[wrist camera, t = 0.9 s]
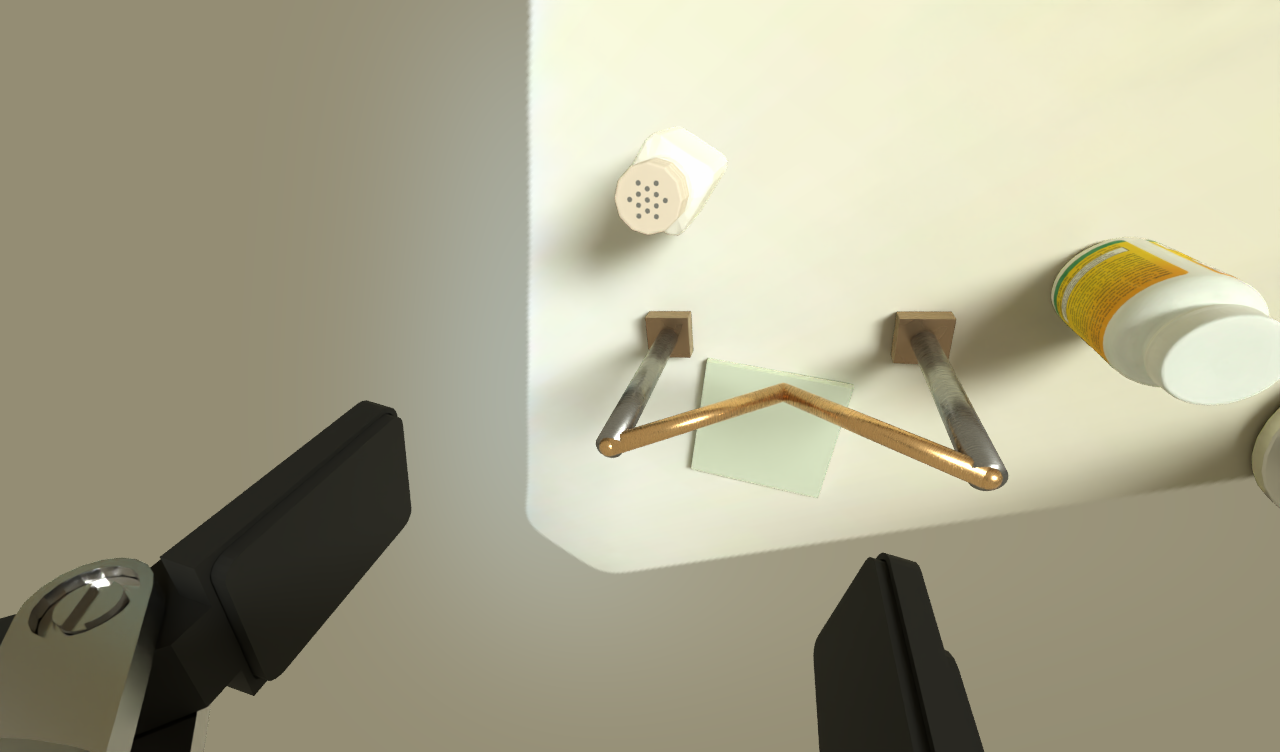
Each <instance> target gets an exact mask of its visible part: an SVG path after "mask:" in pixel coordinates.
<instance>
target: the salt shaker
mask: <svg viewBox="0 0 1280 752" xmlns="http://www.w3.org/2000/svg"><path fill="white" fill-rule="evenodd" d="M727 163H728V160H727V159H726V157H725V156H724V154H722V153H721V152H719V151H718V150H716V149H715V148H713V147H712V146H710V145H709V144H707V143H706V142H704V141H703V140H701V139H700V138H698V137H696V136H695V135H693V134H692V133H690V132H689V131H687V130H686V129H684V128H682V127H672V128H669V129H665V130H662V131H659V132H656V133H653V134H652V135H651V136H649V137H648V138H647V139H646V140H645V142H644V143H643V145H642V147H641V149H640V151H639V153H638V154H637V156H636V158H635V160H634V162H633V164H632V166H630V167H629V168H628V170H627V171H626V172H625V173H624V174H623V175H622V176H621V178H620V179H619V180H618V183H617V188H616V193H615V198H614V199H615V203H616V206H617V210H618V213H619V217H620V218H621V219H622V220H623V221H624V222H625V223H626V224H627V225H628V226H629V227H630V228H631V230H634V231H637V232H640V233H643V234H646V235H651V234H656V233H660V232H665V233H667V234H668V235H677V236H678V235H680V234H681V233H683V232H684V231H685V230H686V229H687V227H688V226H689V225H690V224H691V223H692V221H693V220H694V219H695V218H696V217H697V215H698V214H699V213H700V212H701V210H702V209H703V207H704V205H705V204H706V202H707V200H708V199H709V197H710V195H711V194H712V192H713V191H714V189H715V187H716V186H717V184H718V182H719V181H720V179H721V177H722V176H723V174H724V172H725V171H726V168H727Z"/></svg>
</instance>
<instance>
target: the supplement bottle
mask: <svg viewBox="0 0 1280 752" xmlns="http://www.w3.org/2000/svg"><path fill="white" fill-rule="evenodd" d="M1051 300H1052V304H1053V307H1054V309H1055V311H1056V313H1057V314H1058V316H1059V317H1060V318H1061V319H1062V320H1063V321H1064V322H1065V323H1066V324H1067V325H1068V326H1069V327H1070V328H1071V329H1072V330H1073V331H1074V332H1075V333H1076V334H1077V335H1079V336H1080V337H1081V338H1082V339H1083V340H1084V341H1085V342H1086V343H1087V344H1088V345H1089V346H1091V347H1092V348H1093V349H1094V350H1095V351H1096V352H1097V353H1098V354H1099V355H1100V356H1101V357H1102V358H1103V359H1104V360H1105V361H1106V362H1107V363H1108V364H1109V365H1110V366H1111V367H1112V368H1114V369H1115V370H1116V371H1118V372H1119V373H1120V374H1121V375H1123V376H1125V377H1126V378H1128V379H1130V380H1132V381H1135V382H1137V383H1140V384H1144V385H1148V386H1153V387H1161V388H1162V389H1164V390H1165V391H1166V392H1168V393H1169V394H1170V395H1172V396H1173V397H1175V398H1177V399H1180V400H1182V401H1185V402H1188V403H1192V404H1198V405H1221V404H1228V403H1232V402H1237V401H1240V400H1243V399H1246V398H1249V397H1252V396H1254V395H1256V394H1258V393H1260V392H1262V391H1264V390H1265V389H1267V388H1268V387H1270V386H1272V385H1273V384H1274V383H1275V382H1276V381H1278V380H1279V379H1280V322H1279V321H1277V320H1275V319H1273V318H1271V317H1270V316H1269V310H1268V307H1267V304H1266V302H1265V300H1264V299H1263V297H1262V296H1261V295H1260V293H1259V292H1258V291H1257V290H1255V289H1254V288H1253V287H1252V286H1250V285H1249V284H1247V283H1245V282H1243V281H1242V280H1240V279H1238V278H1236V277H1234V276H1231V275H1229V274H1227V273H1224V272H1222V271H1220V270H1218V269H1216V268H1214V267H1211V266H1209V265H1207V264H1204V263H1202V262H1200V261H1198V260H1195V259H1193V258H1191V257H1189V256H1187V255H1185V254H1183V253H1181V252H1178V251H1176V250H1174V249H1172V248H1169V247H1167V246H1165V245H1163V244H1160V243H1157V242H1155V241H1152V240H1149V239H1145V238H1138V237H1122V238H1116V239H1110V240H1106V241H1103V242H1101V243H1099V244H1096V245H1094V246H1092V247H1090V248H1088V249H1086V250H1084V251H1083V252H1081V253H1079V254H1078V255H1076V256H1075V257H1074V258H1072V259H1071V260H1070V261H1069V262H1068V263H1067V264H1066V265H1065V266H1064V267H1063V268H1062V270H1061V271H1060V272H1059V274H1058V276H1057V277H1056V279H1055V282H1054V284H1053V288H1052V292H1051Z"/></svg>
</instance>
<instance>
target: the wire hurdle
mask: <svg viewBox="0 0 1280 752" xmlns="http://www.w3.org/2000/svg"><path fill="white" fill-rule="evenodd" d="M645 321H646V330H647V340H648V349H649V351H648V353H647V355H646V356H645V358H644V360H643V361H642V363H641V365H640V366H639V368H638V370H637V372H636V373H635V375H634V377H633V378H632V380H631V382H630V384H629V385H628V387H627V389H626V390H625V392H624V394H623V395H622V397H621V399H620V401H619V402H618V404H617V406H616V407H615V409H614V411H613V412H612V414H611V416H610V418H609V419H608V421H607V423H606V424H605V426H604V428H603V430H602V431H601V433H600V435H599V436H598V438H597V440H596V447H597V449H598V451H599V452H600V453H601V454H603V455H604V456H606V457H610V458H615V457H618V456H620V455H621V454H622V453H624V452H627V451H630V450H633V449H636V448H639V447H642V446H646V445H649V444H652V443H655V442H658V441H661V440H665V439H668V438H671V437H674V436H677V435H680V434H684V433H687V432H690V431H693V430H696V429H699V428H702V427H706V426H709V425H712V424H715V423H718V422H721V421H725V420H728V419H731V418H734V417H737V416H740V415H743V414H747V413H750V412H753V411H756V410H759V409H762V408H766V407H769V406H772V405H775V404H778V403H781V402H785V403H787V404H789V405H791V406H794V407H796V408H798V409H801V410H803V411H805V412H808V413H810V414H812V415H814V416H817V417H819V418H821V419H824V420H826V421H828V422H830V423H833V424H835V425H837V426H840V427H842V428H844V429H847V430H849V431H851V432H853V433H856V434H858V435H860V436H863V437H865V438H867V439H870V440H872V441H874V442H876V443H879V444H881V445H883V446H886V447H888V448H890V449H893V450H895V451H897V452H899V453H902V454H904V455H906V456H909V457H911V458H913V459H916V460H918V461H920V462H922V463H925V464H927V465H929V466H932V467H934V468H936V469H939V470H941V471H943V472H945V473H948V474H950V475H952V476H955V477H957V478H959V479H961V480H964V481H966V482H968V483H969V484H970V485H971V486H972V487H973V488H975V489H978V490H982V491H990V490H995V489H998V488H1000V487H1002V486H1003V485H1004V484H1005V483H1006V482H1007V480H1008V472H1007V470H1006V468H1005V466H1004V464H1003V463H1002V461H1001V459H1000V457H999V455H998V453H997V451H996V449H995V447H994V446H993V444H992V442H991V440H990V438H989V436H988V434H987V432H986V430H985V429H984V427H983V425H982V423H981V421H980V419H979V417H978V415H977V414H976V412H975V410H974V408H973V406H972V404H971V402H970V400H969V398H968V397H967V395H966V393H965V391H964V389H963V387H962V385H961V383H960V381H959V380H958V378H957V376H956V374H955V372H954V370H953V368H952V366H951V364H950V363H949V361H948V358H949V353H950V348H951V343H952V338H953V333H954V328H955V323H956V318H955V317H954V315H953V313H952V312H897V313H896V321H895V328H894V335H893V342H892V349H891V357H892V360H893V363H904V364H919V365H920V368H921V370H922V373H923V375H924V377H925V380H926V382H927V385H928V387H929V389H930V392H931V394H932V397H933V399H934V401H935V404H936V406H937V409H938V411H939V413H940V416H941V418H942V421H943V423H944V425H945V428H946V430H947V433H948V435H949V437H950V440H951V442H952V445H953V447H954V449H955V450H952V449H950V448H947V447H945V446H942V445H940V444H937V443H935V442H932V441H930V440H927V439H925V438H922V437H920V436H917V435H915V434H912V433H910V432H907V431H905V430H902V429H900V428H897V427H895V426H892V425H890V424H887V423H885V422H882V421H880V420H877V419H875V418H872V417H870V416H867V415H865V414H862V413H860V412H857V411H855V410H852V409H850V408H847V407H845V406H842V405H840V404H837V403H835V402H832V401H830V400H827V399H825V398H822V397H820V396H817V395H815V394H812V393H810V392H807V391H805V390H802V389H800V388H797V387H795V386H792V385H790V384H787V383H780V384H776V385H773V386H770V387H767V388H763V389H760V390H757V391H754V392H750V393H747V394H744V395H740V396H737V397H734V398H731V399H727V400H724V401H721V402H717V403H714V404H711V405H708V406H704V407H701V408H698V409H694V410H691V411H688V412H685V413H681V414H678V415H675V416H671V417H668V418H665V419H662V420H658V421H655V422H652V423H648V424H645V425H642V426H639V427H635V426H636V424H637V422H638V420H639V418H640V416H641V414H642V412H643V410H644V408H645V406H646V404H647V402H648V400H649V398H650V395H651V393H652V391H653V389H654V387H655V385H656V383H657V381H658V379H659V377H660V375H661V373H662V371H663V369H664V367H665V365H666V363H667V361H668V359H669V357H685V358H690V357H691V355H692V352H693V335H692V319H691V311H649V313H648V314H647V316H646V317H645Z"/></svg>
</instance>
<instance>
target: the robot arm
mask: <svg viewBox="0 0 1280 752" xmlns="http://www.w3.org/2000/svg"><path fill="white" fill-rule="evenodd" d="M1252 471H1253V474H1254V477H1255V479H1256V482H1257V484H1258V486H1259V487H1260V488H1261V490H1262V491H1263V492H1264V493H1265V495H1266V496H1267V497H1268V498H1269V499H1270V500H1271V501H1272V502H1274V503H1275V504H1276V505H1277V506H1278V507H1279V508H1280V408H1279V409H1278V410H1277V411H1276V412H1275V413H1274V414H1273V415H1272V416H1271V417H1270V418H1269V419H1268V421H1267V422H1266V424H1265V425H1264V427H1263V429H1262V430H1261V432H1260V434H1259V435H1258V437H1257V439H1256V442H1255V446H1254V449H1253V452H1252ZM410 514H411V501H410V490H409V480H408V472H407V462H406V451H405V441H404V431H403V423H402V420H401V418H399V417H397V413H396V411H395V410H394V409H393V408H390V407H386V406H384V405H380V404H377V403H373V402H369V401H362V402H360V403H358V404H357V405H356V406H354V407H353V408H352V409H350V410H349V411H348V412H346V413H345V414H344V415H342V416H341V417H340V418H339V419H337V420H336V421H335V422H333V423H332V424H331V425H330V426H329V427H327V428H326V429H324V430H323V431H322V432H321V433H319V434H318V435H317V436H315V437H314V438H313V439H312V440H310V441H309V442H308V443H306V444H305V445H304V446H303V447H302V448H300V449H299V450H297V451H296V452H295V453H294V454H292V455H291V456H290V457H288V458H287V459H286V460H284V461H283V462H282V463H281V464H279V465H278V466H277V467H275V468H274V469H273V470H271V471H270V472H269V473H268V474H266V475H265V476H264V477H262V478H261V479H260V480H259V481H257V482H256V483H255V484H253V485H252V486H251V487H250V488H248V489H247V490H246V491H244V492H243V493H242V494H241V495H239V496H238V497H237V498H235V499H234V500H233V501H231V502H230V503H229V504H228V505H226V506H225V507H224V508H222V509H221V510H220V511H219V512H218V513H216V514H215V515H213V516H212V517H211V518H210V519H208V520H207V521H206V522H204V523H203V524H202V525H200V526H199V527H198V528H197V529H195V530H194V531H193V532H191V533H190V534H189V535H188V536H186V537H185V538H184V539H182V540H181V541H180V542H179V543H177V544H176V545H175V546H173V547H172V548H171V549H169V550H168V551H167V552H166V553H164V554H163V555H162V556H160V558H161V560H159V561H158V562H157V563H156V564H154V565H153V566H152V567H149V566H148V565H147V564H146V563H143V562H141V561H139V560H137V559H129V558H114V559H106V560H101V561H97V562H93V563H90V564H86V565H83V566H80V567H78V568H76V569H74V570H71V571H69V572H67V573H65V574H62V575H60V576H59V577H57V578H56V579H54V580H52V581H51V582H49V583H48V584H46V585H44V586H43V587H41V588H40V589H39V590H38V591H37V592H36V593H34V594H33V595H32V596H31V597H30V598H29V599H28V600H27V601H26V602H24V604H23V605H22V607H21V608H20V610H19V611H18V613H17V614H15V615H12V616H8V617H5V618H1V619H0V752H204V747H205V740H206V734H207V727H208V721H209V715H210V714H209V713H210V708H211V703H212V702H213V700H214V699H215V698H216V697H217V696H218V695H219V694H220V693H221V692H222V690H223V689H224V688H225V687H226V686H228V687H231V688H234V689H236V690H240V691H242V692H245V693H247V694H250V695H253V696H254V695H255V694H256V693H257V692H258V690H259V689H260V688H261V687H262V686H263V685H264V684H265V682H266V681H267V680H268V681H272V680H274V679H276V678H277V677H278V676H280V675H281V674H282V673H283V672H284V671H285V670H286V668H287V667H288V666H289V665H290V664H291V662H292V661H293V660H294V659H295V658H296V656H297V655H298V654H299V653H300V652H301V650H302V649H303V648H304V647H305V646H306V644H307V643H308V642H309V641H310V640H311V638H312V637H313V636H314V635H315V634H316V632H317V631H318V630H319V629H320V628H321V626H322V625H323V624H324V623H325V621H326V620H327V619H328V618H329V616H331V614H332V613H333V612H334V611H335V610H336V608H337V607H338V606H339V604H341V602H342V601H343V600H344V599H345V598H346V596H347V595H348V594H349V593H350V591H351V590H352V589H353V588H354V587H355V585H356V584H357V583H358V582H359V580H360V579H361V578H362V577H363V576H364V575H365V573H366V572H367V571H368V570H369V569H370V567H371V566H372V565H373V564H374V562H375V561H376V560H377V559H378V558H379V557H380V555H381V554H382V553H383V552H384V550H385V549H386V548H387V547H388V546H389V545H390V543H391V542H392V541H393V540H394V539H395V537H396V536H397V535H398V534H399V533H400V531H401V530H402V529H403V528H404V526H405V525H406V524H407V522H408V520H409V517H410ZM814 673H815V686H816V687H815V688H816V703H817V718H818V735H819V750H820V752H984V750H983V746H982V743H981V740H980V736H979V733H978V730H977V727H976V724H975V720H974V717H973V714H972V711H971V707H970V704H969V701H968V698H967V694H966V692H965V688H964V685H963V682H962V678H961V675H960V672H959V669H958V666H957V664H956V662H955V659H954V658H953V657H952V655H951V654H950V653H949V652H948V651H946V650H944V647H943V643H942V640H941V637H940V633H939V630H938V627H937V623H936V620H935V617H934V613H933V610H932V606H931V603H930V599H929V596H928V593H927V589H926V586H925V582H924V579H923V576H922V572H921V569H920V567H919V565H918V564H917V563H916V562H913V561H910V560H906V559H903V558H900V557H896V556H893V555H889V554H886V553H881V554H879V555H878V557H877V558H876V559H874V558H871V557H869V558H868V559H867V560H866V561H865V563H864V564H863V566H862V567H861V569H860V570H859V572H858V574H857V575H856V577H855V578H854V580H853V581H852V583H851V585H850V586H849V588H848V589H847V591H846V593H845V594H844V596H843V598H842V599H841V601H840V602H839V604H838V605H837V607H836V609H835V610H834V612H833V613H832V615H831V617H830V618H829V620H828V621H827V623H826V624H825V626H824V627H823V629H822V631H821V632H820V634H819V635H818V637H817V639H816V642H815V646H814Z"/></svg>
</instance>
